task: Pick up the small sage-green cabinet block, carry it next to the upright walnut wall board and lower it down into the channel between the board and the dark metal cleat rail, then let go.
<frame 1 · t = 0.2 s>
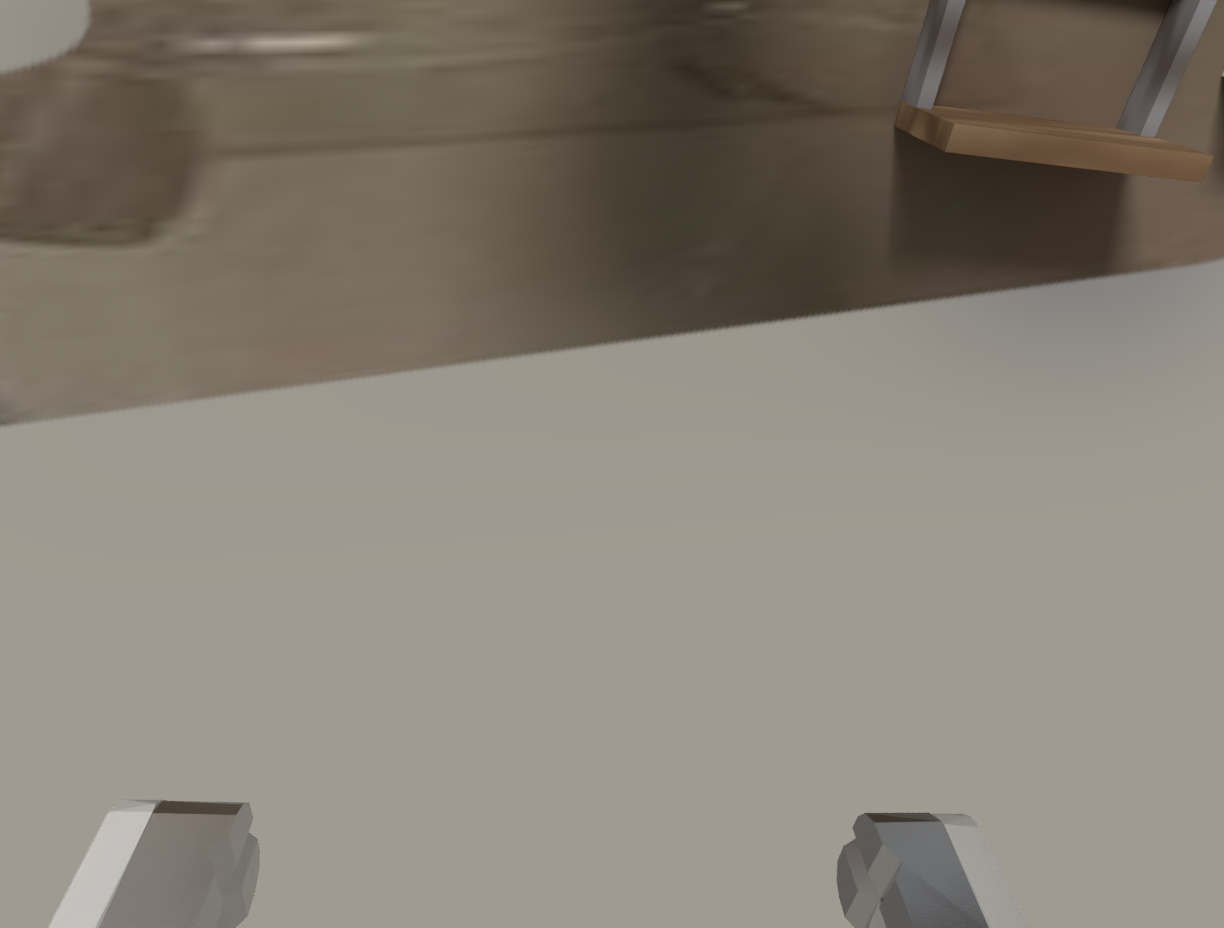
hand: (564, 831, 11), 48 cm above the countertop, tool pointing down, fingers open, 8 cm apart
wall board: (1049, 29, 49), on the countertop
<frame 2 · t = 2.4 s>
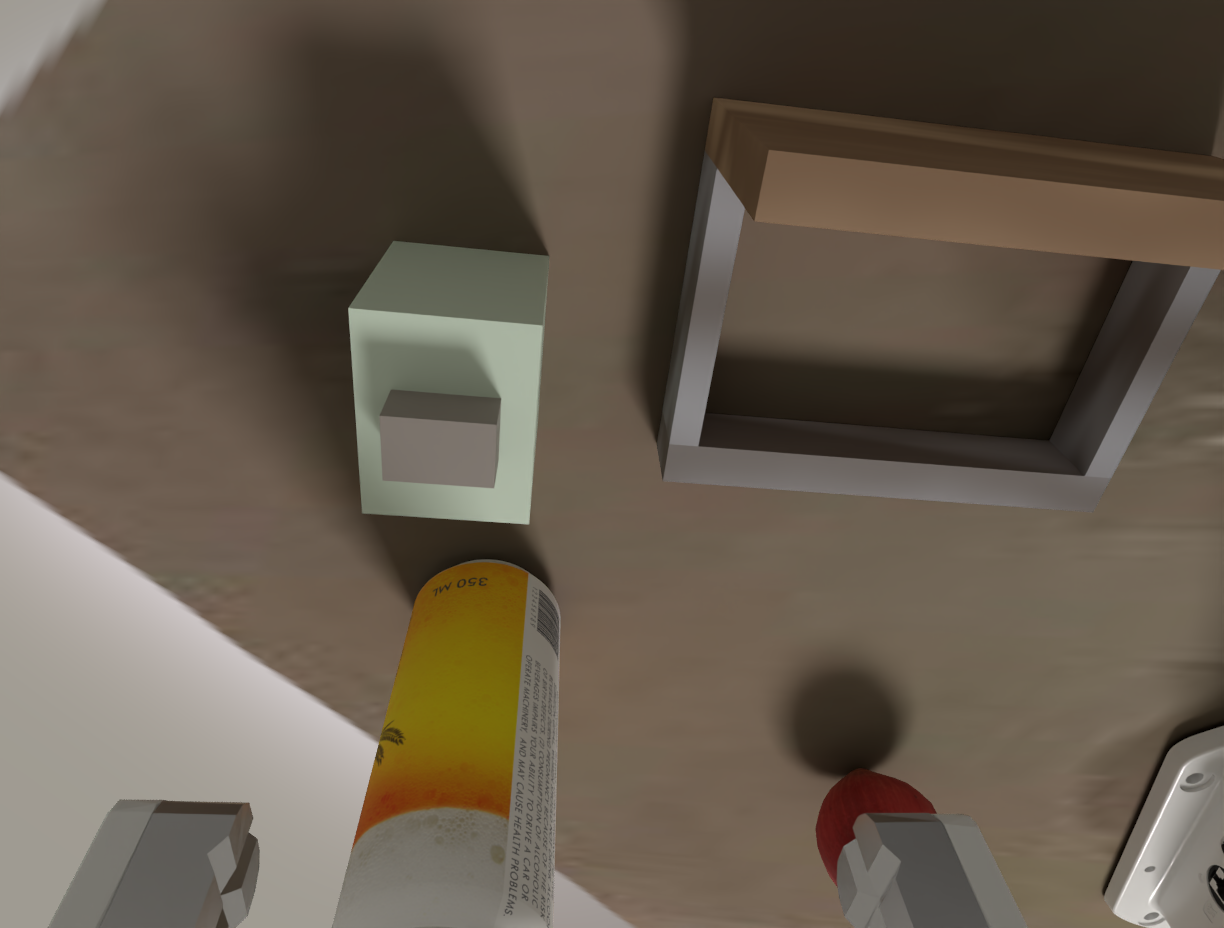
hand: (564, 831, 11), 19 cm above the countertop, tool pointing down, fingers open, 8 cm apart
wall board: (905, 326, 28), on the countertop
onion: (855, 769, 41), on the countertop
beer can: (489, 601, 34), on the countertop
cabinet block: (470, 340, 27), on the countertop
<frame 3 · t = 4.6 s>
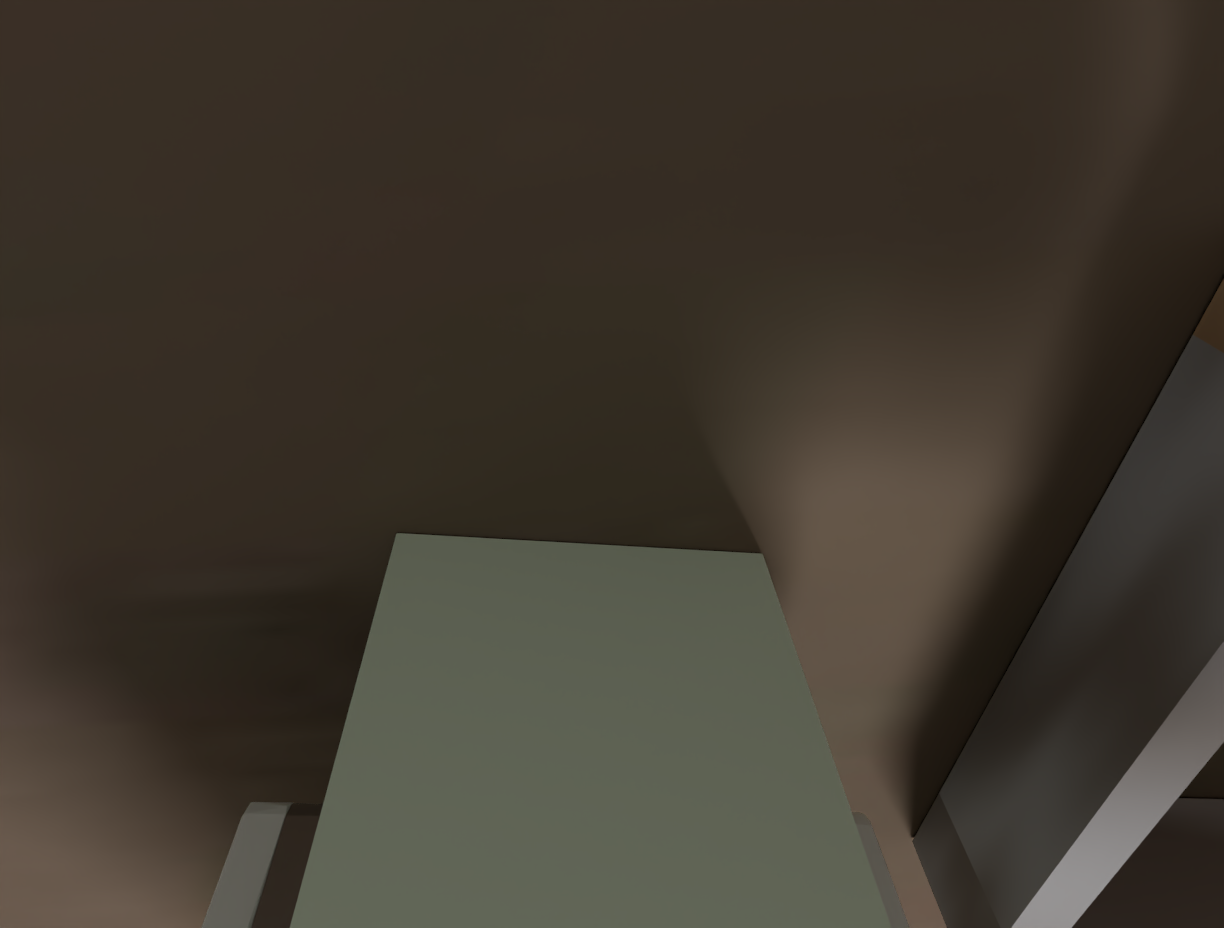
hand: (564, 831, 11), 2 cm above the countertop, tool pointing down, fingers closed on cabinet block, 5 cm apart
cabinet block: (563, 704, 13), on the countertop, touching gripper
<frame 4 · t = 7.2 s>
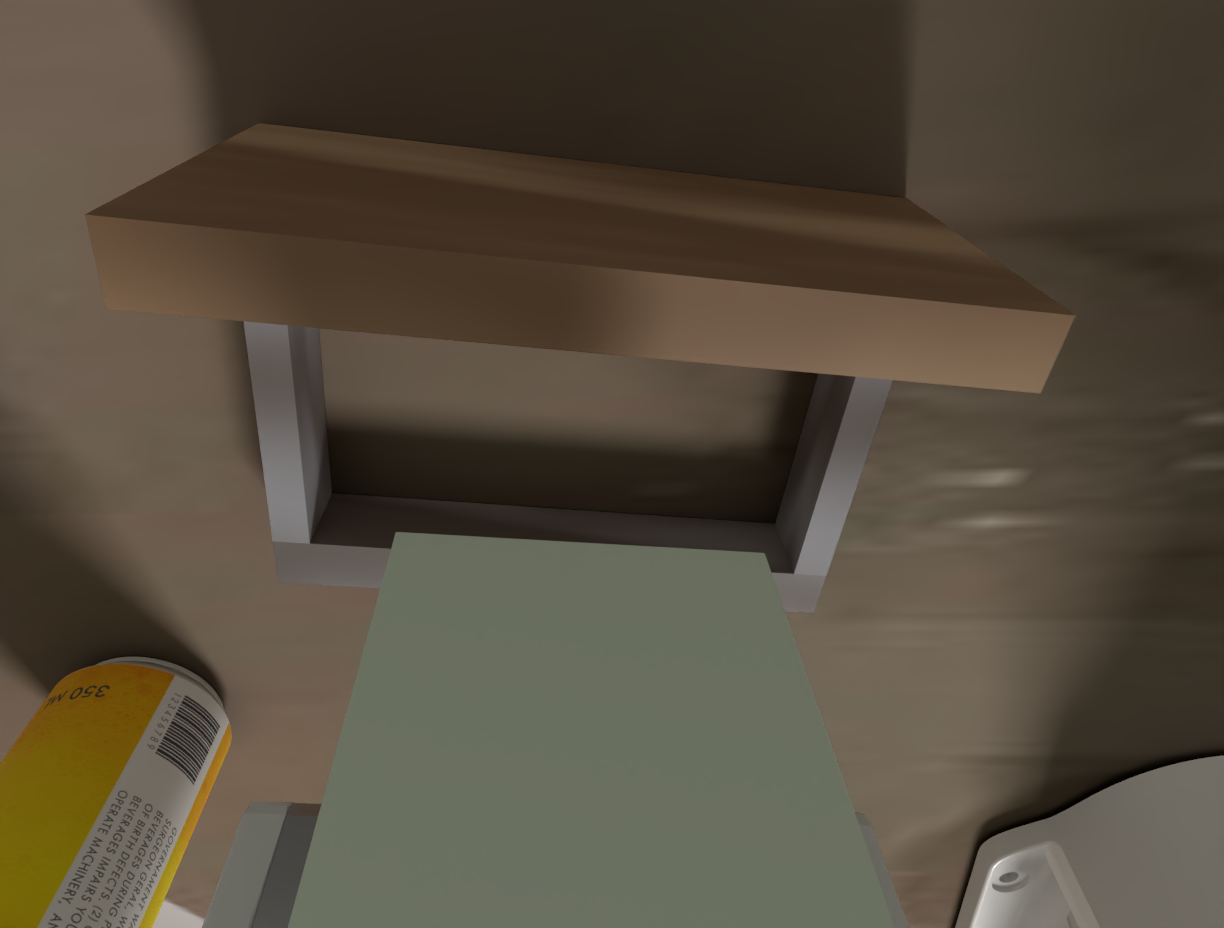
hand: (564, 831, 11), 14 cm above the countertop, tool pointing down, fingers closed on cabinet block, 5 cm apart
wall board: (572, 396, 23), on the countertop
beer can: (154, 701, 29), on the countertop
cabinet block: (564, 705, 12), point 12 cm above the countertop, touching gripper
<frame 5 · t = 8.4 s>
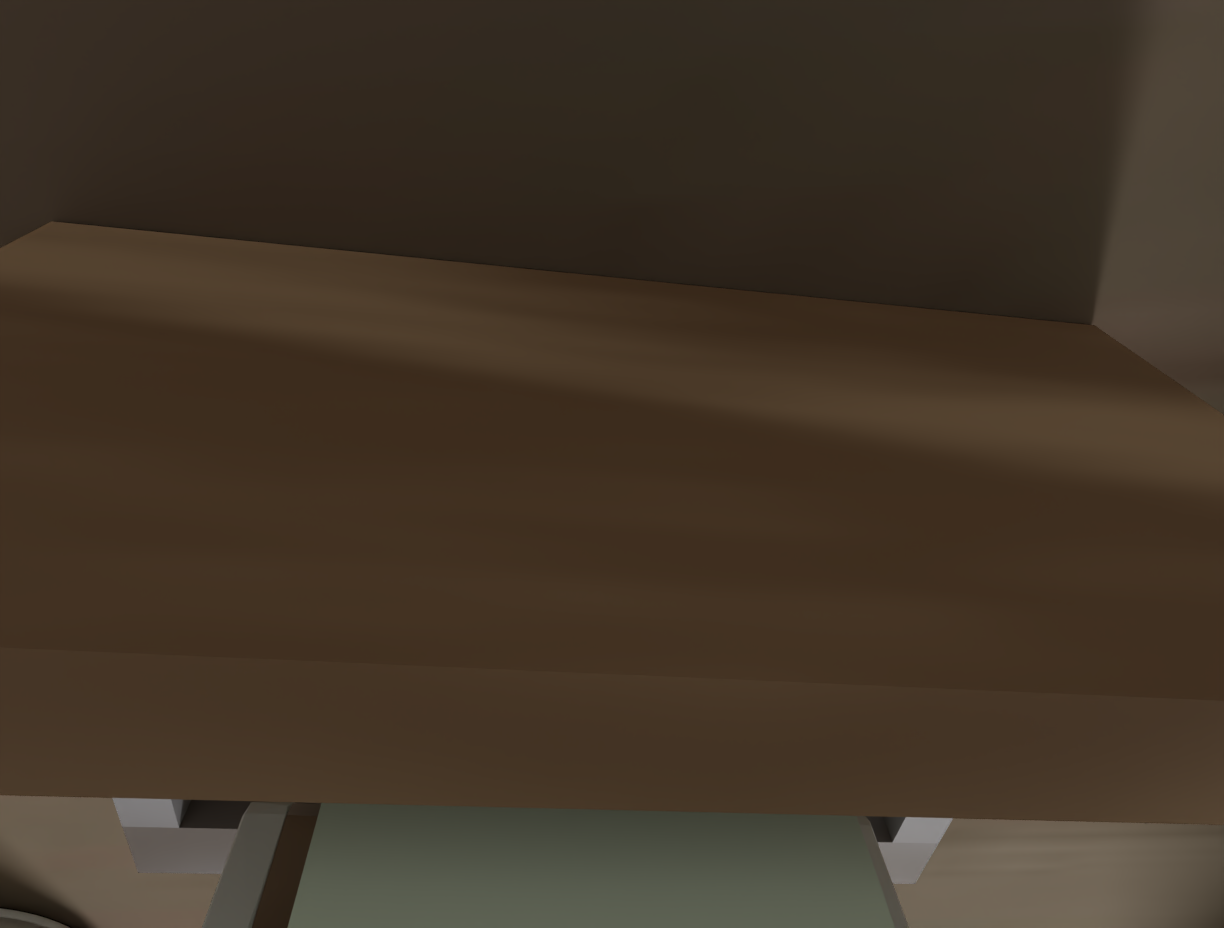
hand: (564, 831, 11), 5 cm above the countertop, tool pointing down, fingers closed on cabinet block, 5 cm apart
wall board: (571, 596, 16), on the countertop
cabinet block: (563, 704, 12), point 3 cm above the countertop, touching gripper
when the fingers open (4 cm above the countertop, at t = 9.5 s): cabinet block drops 2 cm, resting in wall board.
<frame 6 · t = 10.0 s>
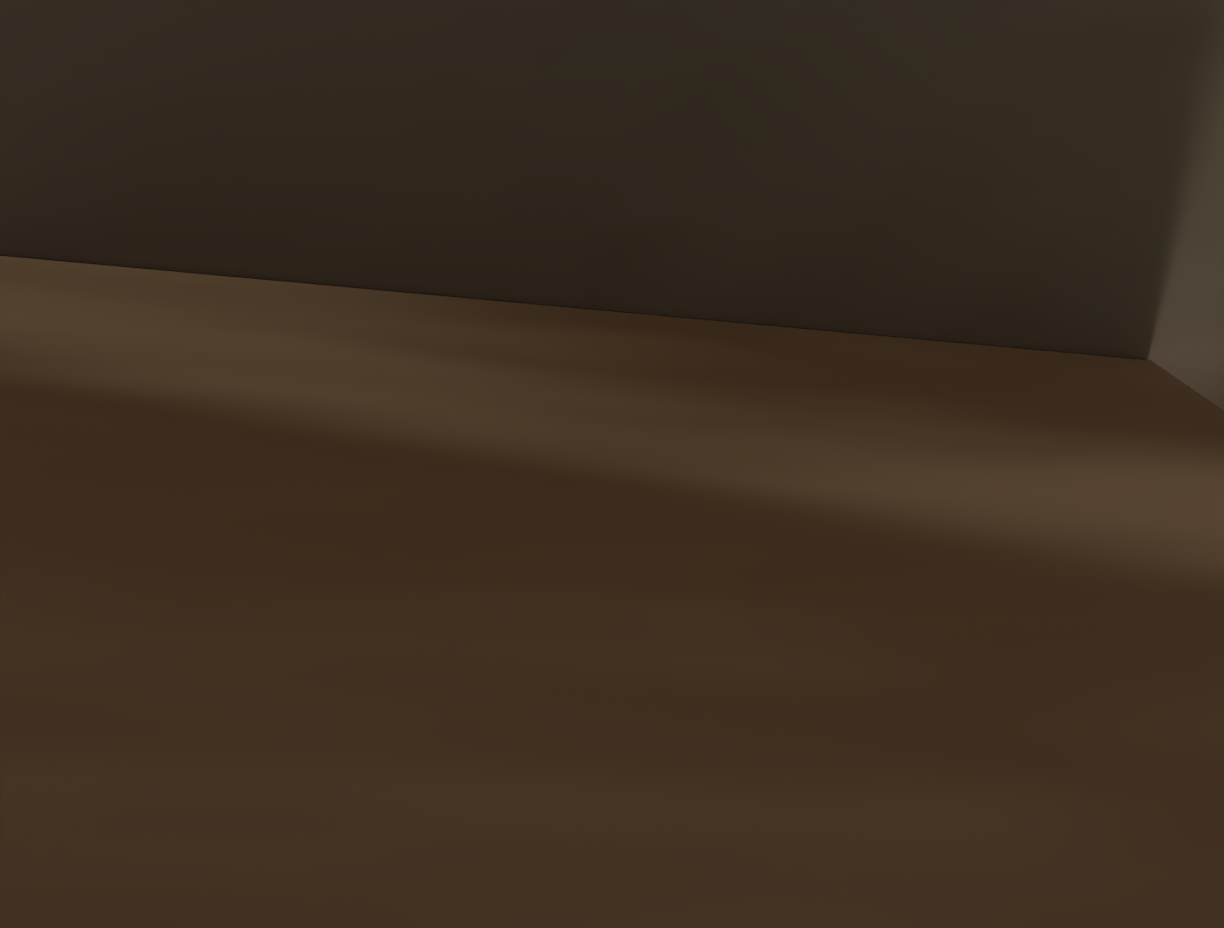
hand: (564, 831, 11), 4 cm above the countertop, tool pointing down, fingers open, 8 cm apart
wall board: (558, 657, 14), on the countertop
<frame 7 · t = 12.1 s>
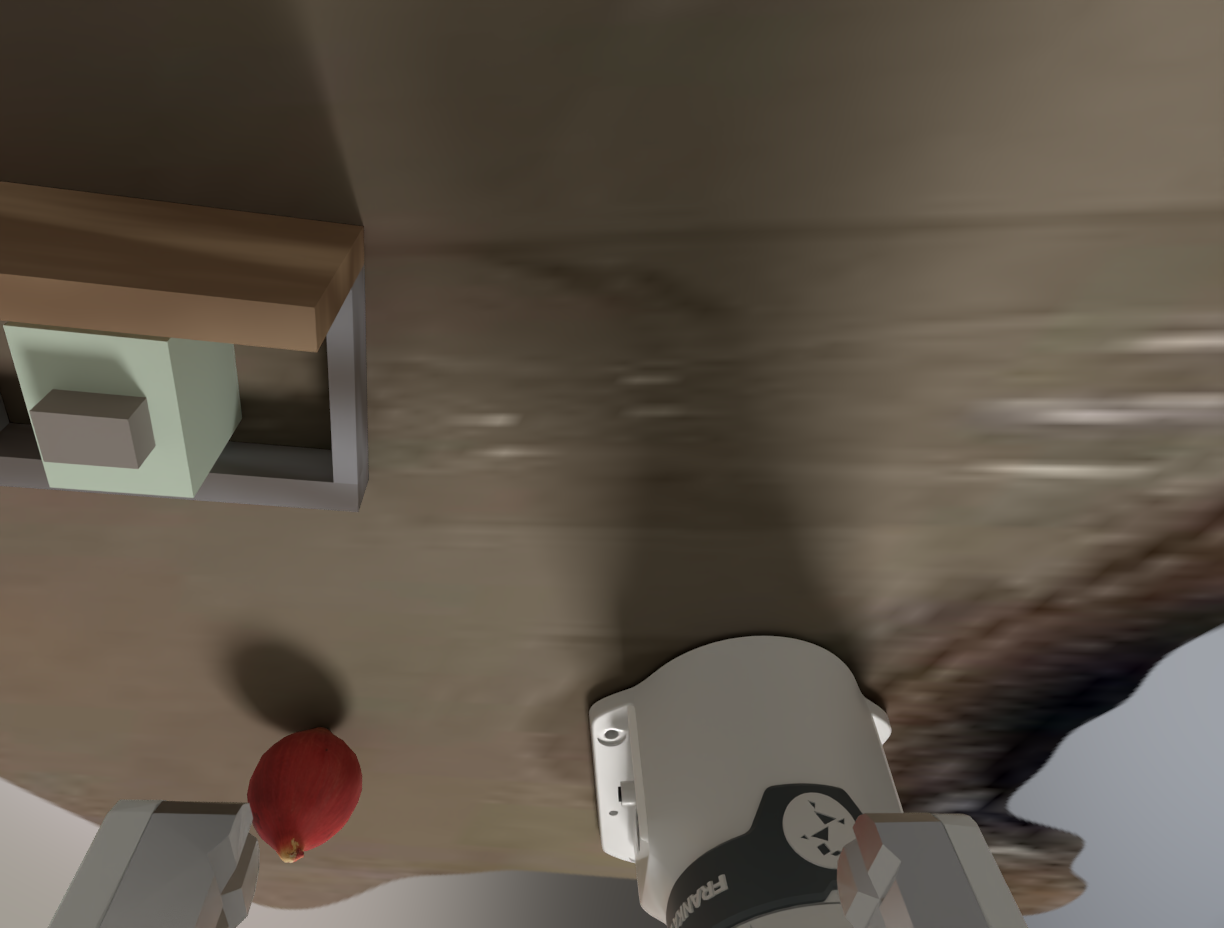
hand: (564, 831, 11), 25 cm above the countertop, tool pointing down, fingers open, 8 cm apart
wall board: (168, 356, 33), on the countertop
onion: (322, 728, 47), on the countertop
cabinet block: (171, 344, 33), resting in wall board
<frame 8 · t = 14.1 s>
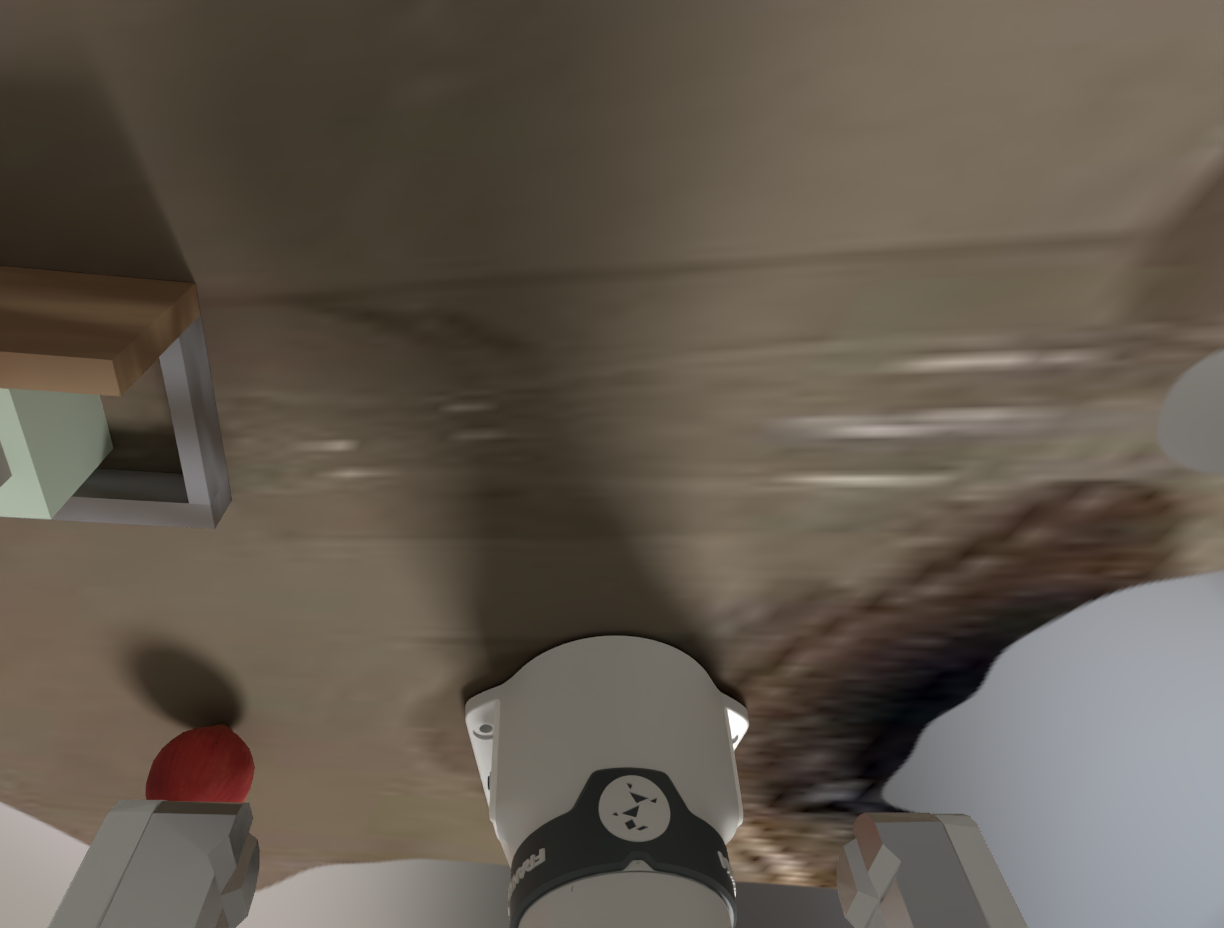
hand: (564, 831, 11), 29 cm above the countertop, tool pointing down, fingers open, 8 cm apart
wall board: (42, 396, 38), on the countertop
onion: (223, 725, 52), on the countertop
cabinet block: (44, 386, 38), resting in wall board
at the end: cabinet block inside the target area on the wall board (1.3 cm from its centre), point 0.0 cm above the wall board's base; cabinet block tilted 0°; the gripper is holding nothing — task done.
